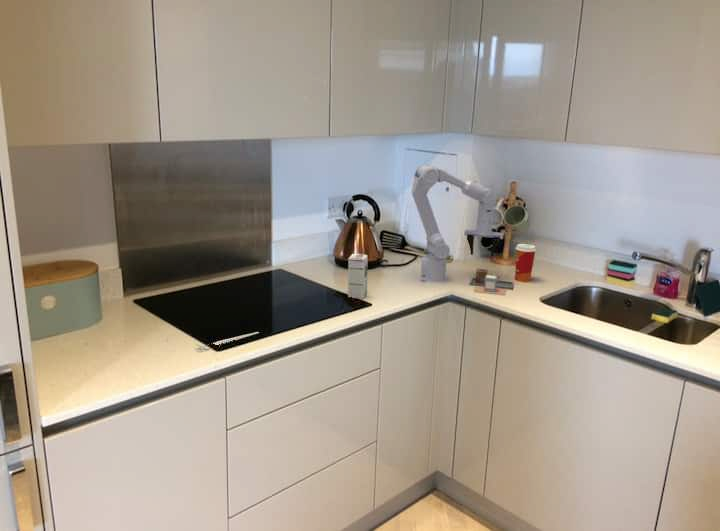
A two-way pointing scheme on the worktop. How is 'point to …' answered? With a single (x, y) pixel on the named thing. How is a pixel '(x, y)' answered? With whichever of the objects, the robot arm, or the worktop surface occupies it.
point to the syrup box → (357, 275)
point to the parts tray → (499, 284)
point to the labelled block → (490, 283)
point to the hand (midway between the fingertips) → (481, 255)
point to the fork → (227, 340)
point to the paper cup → (524, 262)
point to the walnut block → (481, 276)
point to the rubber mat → (498, 292)
